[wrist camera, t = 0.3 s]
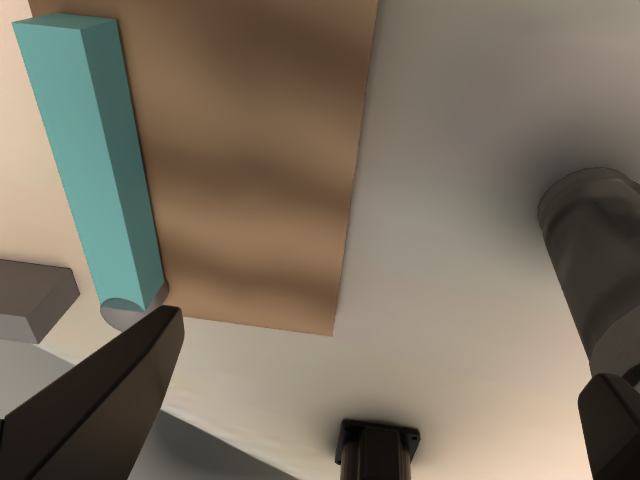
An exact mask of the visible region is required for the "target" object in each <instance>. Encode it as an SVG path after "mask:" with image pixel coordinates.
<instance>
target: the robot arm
mask: <svg viewBox="0 0 640 480" xmlns="http://www.w3.org/2000/svg"><path fill="white" fill-rule="evenodd" d="M184 334H185V332H184V324H183V316H182V310H181V308H180V307H176V306H170V305H161V306H159V307H157V308H156V309H155V310H153V311H152V312H150V313H149V314H148V315H146V316H145V317H143V318H142V319H140V320H139V321H138V322H136V323H135V324H133V325H132V326H131V327H129V328H128V329H126V330H125V331H124V332H122V333H121V334H119V335H118V336H117V337H115V338H114V339H112V340H111V341H110V342H108V343H107V344H105V345H104V346H103V347H101V348H100V349H98V350H97V351H96V352H94V353H93V354H91V355H90V356H89V357H87V358H86V359H84V360H83V361H82V362H80V363H79V364H77V365H76V366H75V367H73V368H72V369H70V370H69V371H68V372H66V373H65V374H63V375H62V376H61V377H59V378H58V379H56V380H55V381H54V382H52V383H51V384H49V385H48V386H47V387H45V388H44V389H42V390H41V391H40V392H38V393H37V394H36V395H34V396H32V397H31V398H30V399H28V400H27V401H26V402H24V403H23V404H21V405H20V406H19V407H17V408H16V409H15V410H13V411H11V412H10V413H9V414H7V415H6V416H5V418H4V419H0V480H127V479H128V477H129V475H130V472H131V470H132V468H133V466H134V464H135V462H136V460H137V458H138V455H139V453H140V451H141V449H142V447H143V445H144V442H145V440H146V438H147V436H148V434H149V432H150V429H151V428H152V425H153V423H154V421H155V419H156V417H157V415H158V412H159V410H160V408H161V405H162V403H163V400H164V397H165V394H166V391H167V388H168V385H169V383H170V380H171V377H172V374H173V371H174V368H175V365H176V362H177V359H178V356H179V353H180V350H181V347H182V344H183V341H184ZM578 409H579V414H580V419H581V424H582V429H583V434H584V439H585V444H586V449H587V454H588V459H589V464H590V468H591V472H592V477H593V480H640V393H639V392H638V391H637V390H635V389H634V388H633V387H632V386H631V385H630V384H629V383H628V382H626V381H625V380H624V379H623V378H622V377H620V376H618V375H613V374H607V373H597V374H595V375H594V376H593V377H592V379H591V380H590V381H589V382H588V384H587V385H586V386H585V388H584V389H583V390H582V392H581V393H580V394H579V397H578ZM419 441H420V432H419V431H416V430H410V429H403V428H396V427H389V426H382V425H376V424H369V423H362V422H355V421H347V420H346V421H343V422H342V423H341V428H340V434H339V439H338V444H337V450H336V455H335V463H336V464H338V465H341V474H340V480H411V469H410V464H411V461H412V459H413V456H414V454H415V451H416V449H417V446H418V444H419Z"/></svg>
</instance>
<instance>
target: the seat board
mask: <svg viewBox="0 0 640 480" xmlns="http://www.w3.org/2000/svg"><path fill="white" fill-rule="evenodd" d="M28 2H29V5H30V9H31V12H32V16H33V18H34V17H39V16H43V15H48V14H52V13H62V14H72V15H81V16H91V17H100V18H110V19H116V23H117V28H118V34H119V39H120V44H121V50H122V55H123V61H124V66H125V71H126V77H127V82H128V88H129V93H130V98H131V104H132V109H133V115H134V120H135V125H136V131H137V136H138V142H139V147H140V152H141V158H142V163H143V169H144V174H145V179H146V185H147V190H148V196H149V201H150V206H151V212H152V217H153V223H154V228H155V233H156V239H157V244H158V250H159V255H160V260H161V266H162V271H163V277H164V281H165V283H166V285H167V287H168V296H167V298H166V300H165V302H164V303H163V305H170V306H176V307H180V308H181V310H182V316H184V317H191V318H198V319H206V320H213V321H220V322H228V323H235V324H242V325H250V326H257V327H264V328H272V329H279V330H286V331H294V332H301V333H308V334H316V335H323V336H330V337H332V336H333V328H334V321H335V314H336V307H337V299H338V292H339V285H340V277H341V270H342V263H343V255H344V248H345V241H346V233H347V226H348V219H349V211H350V204H351V197H352V189H353V182H354V175H355V168H356V160H357V153H358V146H359V138H360V131H361V124H362V116H363V109H364V102H365V94H366V87H367V80H368V72H369V65H370V58H371V50H372V43H373V36H374V29H375V21H376V14H377V7H378V0H28Z"/></svg>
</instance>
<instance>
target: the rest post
mask: <svg viewBox="0 0 640 480" xmlns="http://www.w3.org/2000/svg"><path fill="white" fill-rule="evenodd" d="M79 296H80V294H79V291H78V288H77V285H76V282H75V279H74V277H73V274H72V271H71V269H67V268H60V267H52V266H45V265H37V264H30V263H22V262H15V261H7V260H0V339H4V340H11V341H18V342H25V343H32V344H39V343H40V342H41V341H42V340H43V338H44V337H45V336H46V335H47V334H48V332H49V331H50V330H51V329H52V328H53V327H54V325H55V324H56V323H57V322H58V321H59V319H60V318H61V317H62V316H63V315H64V313H65V312H66V311H67V310H68V309H69V308H70V306H71V305H72V304H73V303H74V302H75V300H76V299H77V298H78V297H79Z"/></svg>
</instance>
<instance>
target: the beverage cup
mask: <svg viewBox="0 0 640 480" xmlns="http://www.w3.org/2000/svg"><path fill="white" fill-rule="evenodd" d="M538 220H539V224H540V227H541V229H542V232H543V237H544V241H545V245H546V248H547V251H548V253H549V256H550V259H551V261H552V264H553V267H554V269H555V272H556V275H557V277H558V280H559V283H560V285H561V288H562V290H563V293H564V296H565V298H566V301H567V304H568V306H569V309H570V312H571V314H572V317H573V320H574V322H575V325H576V328H577V330H578V333H579V336H580V338H581V341H582V344H583V346H584V349H585V352H586V354H587V357H588V360H589V366H590V371H591V375H592V377H593V376H594V375H595V374H597V373H607V374H613V375H618V376H620V377H622V378H623V379H624V380H625V381H626V382H628V383H629V384H630V385H631V386H632V387H633V388H634V389H635V390H637V391H638V392H639V393H640V185H639V184H638V183H636V182H633V181H631V180H630V179H629V178H627V177H626V176H624V175H623V174H621V173H620V172H618V171H616V170H611V169H606V168H591V169H584V170H581V171H578V172H575V173H572V174H570V175H568V176H566V177H565V178H563V179H561V180H560V181H558V182H556V183H555V184H554V185H553V186H552V187H551V188H550V189H549V190H548V191H547V192H546V194H545V196H544V197H543V199H542V201H541V203H540V204H539V210H538Z"/></svg>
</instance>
